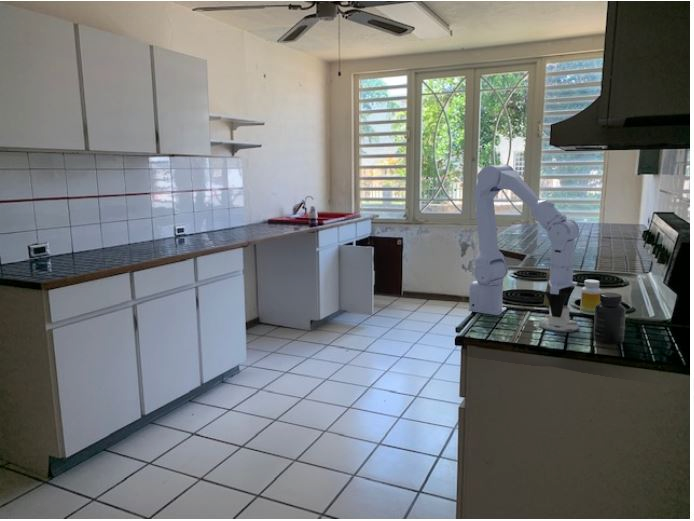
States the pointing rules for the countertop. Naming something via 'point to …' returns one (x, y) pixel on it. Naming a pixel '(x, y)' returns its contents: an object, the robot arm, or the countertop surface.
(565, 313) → the white faceted lump
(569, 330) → the knobbed pot lid
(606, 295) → the supplement bottle
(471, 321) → the countertop surface
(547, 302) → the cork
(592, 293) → the supplement bottle
